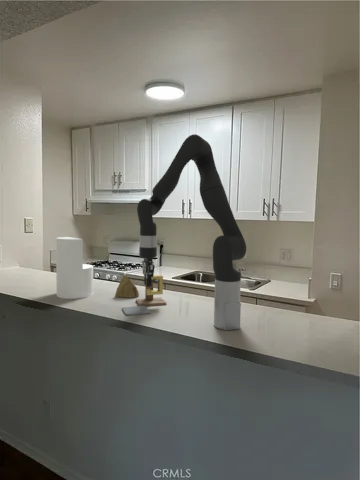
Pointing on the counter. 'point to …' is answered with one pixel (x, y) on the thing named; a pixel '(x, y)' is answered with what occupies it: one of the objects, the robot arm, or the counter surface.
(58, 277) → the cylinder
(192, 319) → the counter surface
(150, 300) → the hook stand
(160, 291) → the c link
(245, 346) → the counter surface
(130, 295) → the rock
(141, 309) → the slate mat
